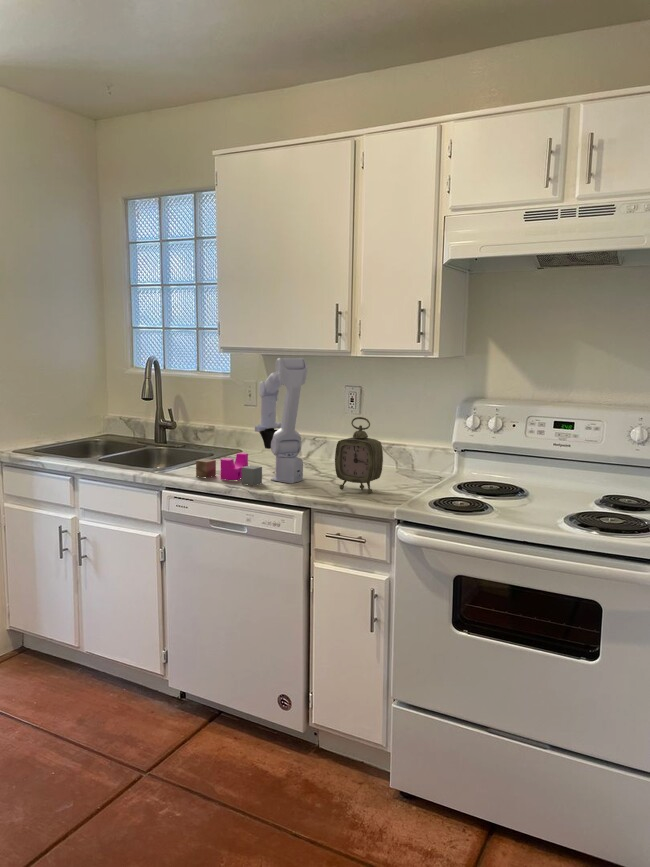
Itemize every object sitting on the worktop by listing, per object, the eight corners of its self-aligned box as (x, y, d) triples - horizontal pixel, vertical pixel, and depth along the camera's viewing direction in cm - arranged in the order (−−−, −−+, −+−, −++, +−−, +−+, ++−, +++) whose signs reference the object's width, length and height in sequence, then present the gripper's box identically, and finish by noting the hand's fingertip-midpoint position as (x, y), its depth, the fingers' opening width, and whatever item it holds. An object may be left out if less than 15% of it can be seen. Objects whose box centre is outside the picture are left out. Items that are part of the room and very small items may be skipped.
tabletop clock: (334, 489, 226) (335, 416, 222) (347, 484, 233) (348, 414, 230) (372, 495, 218) (374, 420, 215) (384, 490, 226) (386, 417, 222)
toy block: (236, 481, 236) (236, 460, 235) (220, 480, 238) (220, 459, 237) (253, 473, 250) (254, 454, 249) (238, 472, 252) (238, 452, 251)
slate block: (261, 483, 233) (262, 466, 232) (253, 486, 228) (253, 469, 228) (250, 481, 235) (250, 465, 234) (241, 484, 231) (241, 467, 230)
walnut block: (215, 476, 243) (215, 460, 242) (206, 478, 239) (206, 462, 238) (205, 474, 246) (205, 458, 245) (196, 476, 242) (196, 460, 241)
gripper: (271, 410, 261) (270, 444, 263) (248, 414, 249) (248, 449, 251) (285, 412, 258) (285, 446, 260) (263, 415, 245) (263, 451, 247)
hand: (268, 448), depth 255 cm, fingers closed
